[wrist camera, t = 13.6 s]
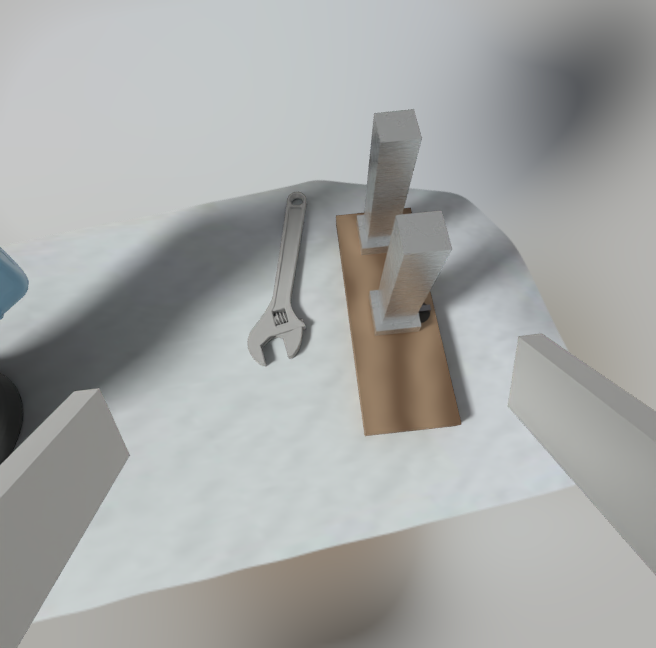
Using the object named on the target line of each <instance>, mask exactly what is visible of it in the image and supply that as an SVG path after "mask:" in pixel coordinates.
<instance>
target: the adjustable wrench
mask: <svg viewBox="0 0 656 648" xmlns="http://www.w3.org/2000/svg"><path fill="white" fill-rule="evenodd" d="M295 199H301V200H303V203H302V204H300V205H292V201H293V200H295ZM306 205H307V203H306V197H305V195H304V194H303V193H301V192H294V193H291V194H290V195H289V196H288V199H287V206H286V213H285V219H284V226H283V233H282V239H281V246H280V252H279V259H278V266H277V272H276V279H275V286H274V292H273V297H272V300H271V302H270V304H269V306H268V308H267V309H266V311H265V313H264V314H263V316H262V317H261V318H260V320H259V321H258V322H257V323H256V325H255V326H254V327H253V329H252V330H251V332H250V334H249V337H248V349H249V352H250V354H251V355H252V357H253V358H254V360H255V361H256V362H257V363H259V364H260V365H261V366H267V365H266V361H265V357H264V353H263V349H262V348H263V347H264V346H265V345H266V344H267V343H268V342H269V341H270V340H271V339H274V338H278V337H279V338H283V340H284V344H285V347H286V351H287V354H288V357H289V359H292V358H294V357H295V355H296V354H297V352H298V351H299V349H300V346H301V343H302V336H303V330H304V329H306V326H305V324H304V322H303V319H300V320H299V319H298V318H297V317H296V315H295V314H294V312H293V310H292V308H291V297H292V291H293V285H294V279H295V273H296V266H297V260H298V254H299V248H300V242H301V236H302V230H303V223H304V217H305V211H306ZM285 311H286V313H284V312H285ZM281 312H282V314H281ZM278 313H279V315H278ZM275 314H276V316H274V315H275Z"/></svg>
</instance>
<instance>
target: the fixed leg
mask: <svg viewBox="0 0 656 648" xmlns="http://www.w3.org/2000/svg"><path fill="white" fill-rule="evenodd" d="M421 140H422V137H421V133H420V130H419V126H418V123H417V119H416V115H415V112H414V109H411V110H401V111H392V112H383V113H374V121H373V130H372V140H371V150H370V160H369V171H368V181H367V189H366V199H365V209H364V215H357V220H356V224H357V231H358V237H359V243H360V249H361V255H370V254H379V253H387V251H388V247H389V243H390V239H391V234H392V230H393V226H394V221H395V217H396V215H402V213H403V209H404V206H405V202H406V198H407V194H408V190H409V186H410V182H411V178H412V175H413V171H414V167H415V163H416V159H417V155H418V151H419V147H420V143H421Z"/></svg>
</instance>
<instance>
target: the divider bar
mask: <svg viewBox="0 0 656 648" xmlns="http://www.w3.org/2000/svg"><path fill="white" fill-rule="evenodd" d="M402 214H412V212H411V208H404V209H403V213H402ZM357 215H364V213H357V214H347V215H338V216H336V227H337V234H338V242H339V249H340V256H341V264H342V271H343V279H344V286H345V293H346V301H347V308H348V316H349V323H350V331H351V338H352V345H353V353H354V360H355V368H356V375H357V382H358V390H359V397H360V405H361V412H362V419H363V427H364V434H365V436H370V435H379V434H388V433H397V432H406V431H415V430H424V429H433V428H442V427H451V426H458V425H461V420H460V416H459V412H458V407H457V403H456V399H455V395H454V390H453V386H452V382H451V378H450V373H449V369H448V365H447V360H446V356H445V352H444V348H443V343H442V339H441V335H440V331H439V326H438V322H437V318H436V314H435V309H434V305H433V301H432V297H431V292H430V291H429V293H428V295H427V297H426V299H425V301H424V302H423V304H422V305H429V304H430V306H431V311H430V312H425V313H419V317H420V322H421V328H420V330H419V331H416V332H407V333H397V334H388V335H379V336H375V333H374V327H373V321H372V314H371V308H370V302H369V291H373V290H379V286H380V281H381V277H382V273H383V269H384V264H385V260H386V256H387V253H379V254H370V255H361V249H360V243H359V237H358V231H357V224H356V220H357Z"/></svg>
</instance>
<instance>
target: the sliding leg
mask: <svg viewBox="0 0 656 648" xmlns="http://www.w3.org/2000/svg"><path fill="white" fill-rule="evenodd" d="M451 251H452V246H451V243H450V239H449V236H448V232H447V228H446V225H445V221H444V217H443V214H442V210H440V211H431V212H421V213H412V214H402V215H396V217H395V221H394V226H393V230H392V234H391V239H390V243H389V247H388V251H387V256H386V260H385V264H384V269H383V273H382V277H381V281H380V286H379V290H373V291H369V302H370V308H371V314H372V321H373V327H374V333H375V336H379V335H388V334H397V333H407V332H416V331H419V330H420V328H421V322H420V317H419V313H425V312H430V311H431V306H430V304H429V305H422V304H423V302H424V301H425V299H426V297H427V295H428V293H429V291H430V289H431V288H432V286H433V284H434V282H435V280H436V278H437V277H438V275H439V273H440V271H441V269H442V267H443V266H444V264H445V262H446V260H447V258H448V256H449V255H450V253H451Z"/></svg>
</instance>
